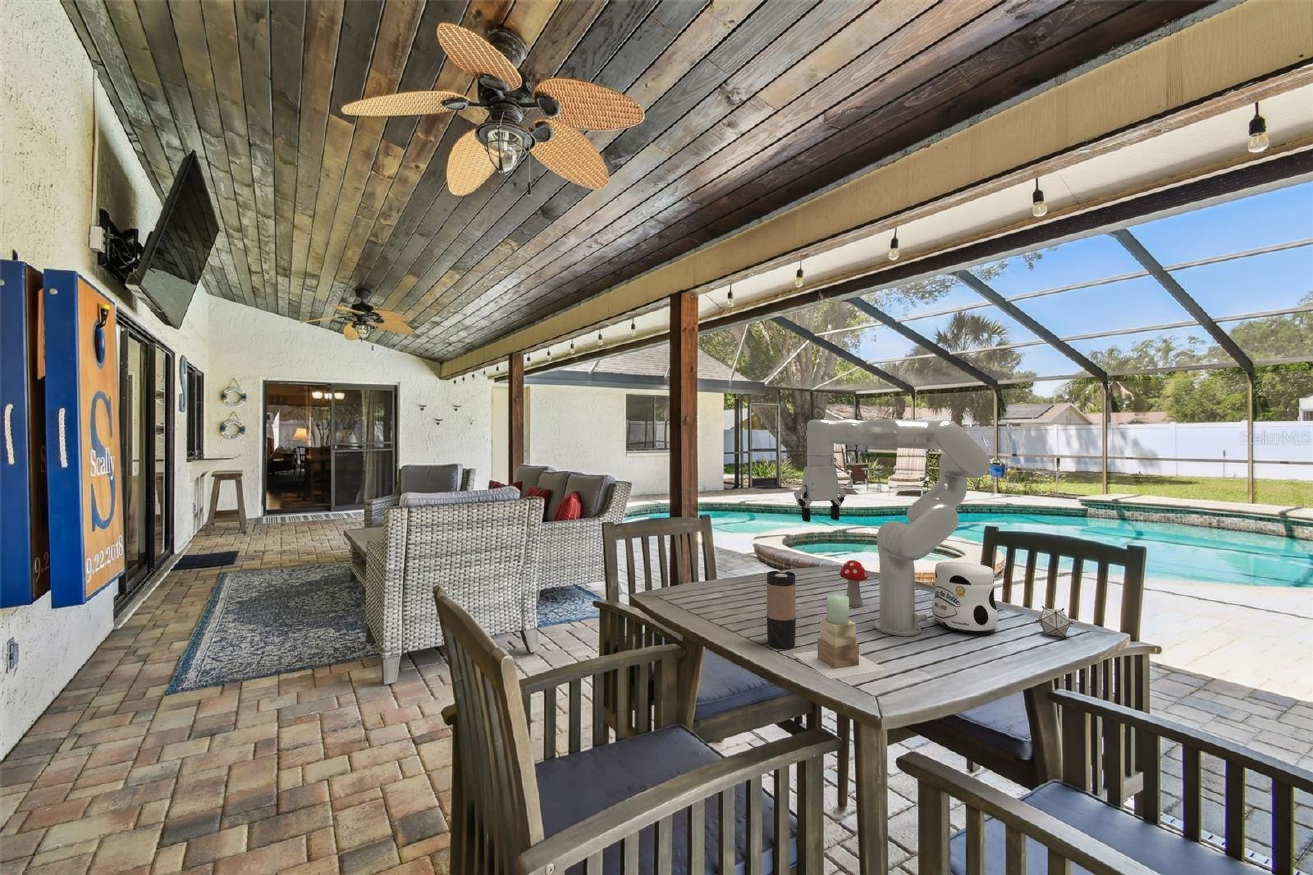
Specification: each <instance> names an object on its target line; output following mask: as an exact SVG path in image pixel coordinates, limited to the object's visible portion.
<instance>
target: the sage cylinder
mask: <svg viewBox="0 0 1313 875" xmlns="http://www.w3.org/2000/svg"><path fill="white" fill-rule="evenodd" d="M826 618H827V621H828V622H829V623H832V624H837V625H845V624H848V623H849V621H850V606H849V597H848V596H846V595H845V594H837V593H833V594H832V593H831V594H828V595H827V596H826Z"/></svg>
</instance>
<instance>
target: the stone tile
mask: <svg viewBox="0 0 1313 875" xmlns="http://www.w3.org/2000/svg"><path fill="white" fill-rule="evenodd" d="M792 656H794V657H796V658H797V659H798V660H800V661H802V662H803V663H805V665H808V666H809V667H811V668H812V669H814V670H815V671H817V672H819V673H820V674H821V675H823V676H824V677H826V678H828V679H829V680H833V679H838V678H839V679H840V678H845V677H846V678H847V677H852V676H857V675H858V676H859V675H865V674H870V673H877V672H881V671H882V672H883V671H888V669H886V668H884V667H882V666H881V665H879V664H877V663H875V662H873V661H871V660H870V659H868V658H867V657H864V656H863V655H861V654H859V665H857V666H850V667H844V668H837V669H834V668H832V667H831V666H829V665H828V664H826V663H824V662H823V661H821V660H819V659H818V650H812V651H805V652H804V651H803V652H799V653H798V652H797V653H792Z"/></svg>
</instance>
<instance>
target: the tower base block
mask: <svg viewBox="0 0 1313 875" xmlns="http://www.w3.org/2000/svg"><path fill="white" fill-rule="evenodd" d="M816 640H817V644H816V645H817V646H816V647H817V651H818V659H819V660H821V661H823V662H824V663H826V664H828V665H829V666H831V667H832V668H834V669H837V668H844V667H850V666H857V665H859V655H860V645H859V643H857V642H856V644H853V645H846V646H839V647H834V646H832V645H830V644H829V643H827V642H825V641H823V640H822V639H820V637H817V639H816Z"/></svg>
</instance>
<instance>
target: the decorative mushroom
mask: <svg viewBox="0 0 1313 875" xmlns="http://www.w3.org/2000/svg"><path fill="white" fill-rule="evenodd" d="M839 576H840V577H841V578H843V580H847V590H846V595H845V596H848V597H849V607H850V608H861V607H862V606H863V603H864V601H863V598H862V595H861V588H860V582H863V581H867V580H868V579H869V578H868V577H869V576H868V573H867V571H866V569H865V567H864V566H863V565H862V563H861V562H860V561H857V560H854V559H853V560H852V559H850V560H847V561H846V562H845V563H844V564H843V566H842V568H841V569H840V571H839Z"/></svg>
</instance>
